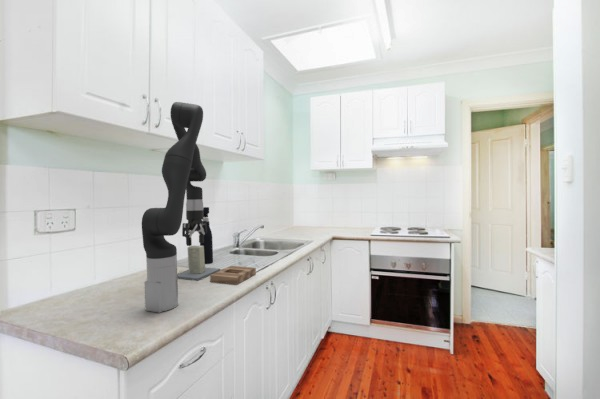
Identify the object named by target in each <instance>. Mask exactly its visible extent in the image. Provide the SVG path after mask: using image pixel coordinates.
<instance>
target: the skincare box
mask: <svg viewBox="0 0 600 399" xmlns="http://www.w3.org/2000/svg"><path fill="white" fill-rule="evenodd" d="M187 262H188V270H189V273H202V272H204V271H205V268H206V266H205V265H206V264H205V259H204V246H200V245H191V246H187Z"/></svg>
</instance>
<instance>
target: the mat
mask: <svg viewBox="0 0 600 399" xmlns="http://www.w3.org/2000/svg"><path fill="white" fill-rule="evenodd" d="M218 271H221V268H216V267H215V268H214V267H205V271H204V272H202V273H189V269H187V270H186V269H185V270H184V271H181V272H177V279H178V280H188V281H200V280H203V279H205V278H207V277H209V276H210V275H212V274H214V273H216V272H218Z"/></svg>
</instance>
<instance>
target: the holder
mask: <svg viewBox="0 0 600 399" xmlns="http://www.w3.org/2000/svg"><path fill="white" fill-rule="evenodd" d="M256 270H257V269H256V267H252V266H251V267H250V266H238V265H230V266H227V267H226V268H223V269H220V271H218V272H216V273H214V274H212V275H210V278H209V279H210V283H213V284H215V283H216V284H224V285H234V286H235V285H236V286H238V285H239V284H241V283H243V282H244V281H246V280H248V279H250V278H252V277H253V276H255V275H257V274H256V272H257V271H256Z"/></svg>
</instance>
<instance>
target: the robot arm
mask: <svg viewBox="0 0 600 399" xmlns="http://www.w3.org/2000/svg"><path fill="white" fill-rule="evenodd" d="M170 119H171V123H172V127H173V130H174V133H175V135H176V138H177V142H176V143H174V144H173V145H171V147H170V148H169V149H167V151H166V153H165V154H164V159H163V162H162V167H161V174H162V178H163V181H164V183H165V186H166V188H167V194H168V196H167V200H166V205H165V207H150V208H148V209H146V210H145V211H144V212H143V215H142V218H141V235H142V236H141V237H142V244H143V250H144V251H145V257H146V258H145V259H146V280H145V281H144V304H145V305H144V309H145V311H147V312H151V313H152V312H154V313H163V312H165V311H169V310H172V309H175V308H176V307H178V305H179V290H178V289H179V288H178V286H179V284H178V280H179V279H178V278H177V274H178V252H177V251H178V249H177V246H176V245H175V244H172V243H171V242H169V241H167V239H166V238H165V237H166V236H174V235H176V234H177V233H178V232H179V231H180V229H182V230H181V231H182V232H181V233H182V234H181V236H182V237H185V244H186V246H187V247H190V246H193V244H192V243H193V242H192V236H193V234H194V233H196V232H197V233H198V234H199V235H198V243H199V244H200V243H204V234H205V233H207V221H203V220H202V219H203V218H204V217H203V207H204V202H203V201H204V200H203V188H202V187H200V186H195V185H193V184H192V182H203V181H205V180H206V179H207V170H206V168H205V166H204V165H203V162H202V161H201V152H200V148H199V145H197V141H198V137H199V134H200V132H201V128H202V125H203V122H204V121H203V120H204V111H203V107H202V106H200V105H199V104H196V103H195V104H194V103H188V102H187V103H186V102H181V101H175V102H173V103H172V105H171V107H170ZM186 129H187V130H186ZM185 197H186V202H185ZM184 204H185V216H186V217H185V219H186V220H187V223H186V222H183V215H184V214H183V213H184ZM181 225H182V226H181ZM204 228H205V230H204Z"/></svg>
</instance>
